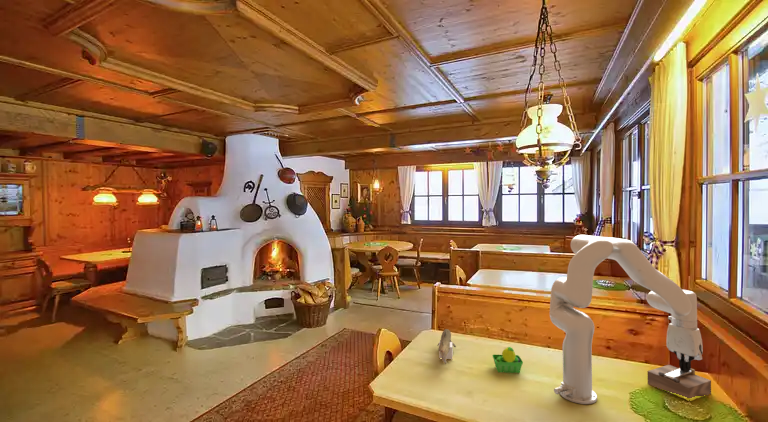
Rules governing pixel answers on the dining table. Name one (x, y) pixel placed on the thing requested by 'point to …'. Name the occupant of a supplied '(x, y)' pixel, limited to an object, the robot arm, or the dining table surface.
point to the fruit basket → (508, 361)
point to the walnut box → (679, 382)
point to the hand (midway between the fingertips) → (685, 370)
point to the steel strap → (676, 373)
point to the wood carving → (446, 346)
